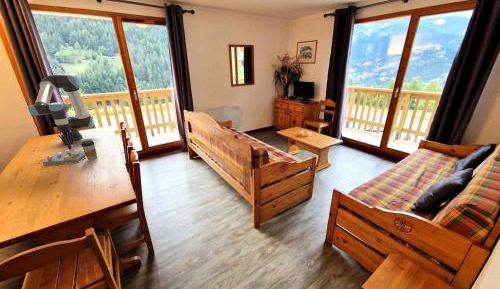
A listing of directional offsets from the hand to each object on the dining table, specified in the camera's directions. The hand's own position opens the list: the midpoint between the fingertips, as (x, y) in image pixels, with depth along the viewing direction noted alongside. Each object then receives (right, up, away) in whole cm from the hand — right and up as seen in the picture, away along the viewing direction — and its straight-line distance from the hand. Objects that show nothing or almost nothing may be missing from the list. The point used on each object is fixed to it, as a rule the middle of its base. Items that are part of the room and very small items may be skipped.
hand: (72, 152), depth 165 cm
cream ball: (-10, 0, +7) cm, 13 cm away
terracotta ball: (-14, -4, -4) cm, 15 cm away
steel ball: (-12, -2, +2) cm, 12 cm away
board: (-7, -6, +4) cm, 10 cm away
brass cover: (+1, -5, -2) cm, 6 cm away
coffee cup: (+13, -6, +4) cm, 15 cm away
